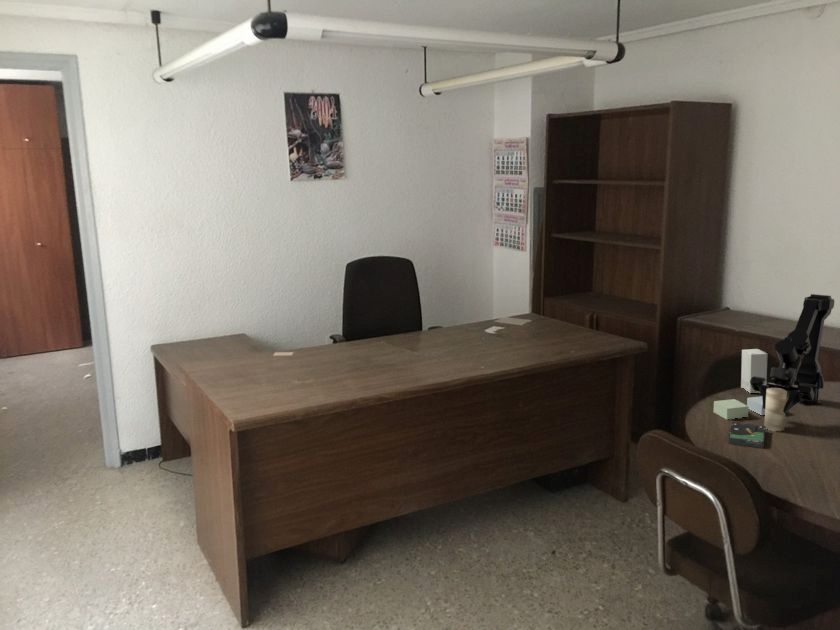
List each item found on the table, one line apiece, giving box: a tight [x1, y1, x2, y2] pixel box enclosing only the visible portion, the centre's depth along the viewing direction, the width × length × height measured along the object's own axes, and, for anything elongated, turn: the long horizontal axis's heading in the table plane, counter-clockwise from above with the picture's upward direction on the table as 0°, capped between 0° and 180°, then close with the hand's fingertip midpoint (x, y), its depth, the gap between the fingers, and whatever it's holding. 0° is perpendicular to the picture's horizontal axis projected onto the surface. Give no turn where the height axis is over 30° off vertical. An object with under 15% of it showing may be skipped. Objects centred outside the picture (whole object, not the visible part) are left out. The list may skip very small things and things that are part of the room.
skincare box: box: [740, 348, 768, 394], centre depth 269 cm, size 8×7×16 cm
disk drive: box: [727, 421, 767, 449], centre depth 226 cm, size 10×3×15 cm
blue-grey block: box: [746, 396, 765, 416], centre depth 249 cm, size 8×8×4 cm
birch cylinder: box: [763, 388, 788, 432], centre depth 232 cm, size 6×6×13 cm
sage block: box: [712, 398, 749, 420], centre depth 246 cm, size 8×8×4 cm
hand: (773, 410), depth 231 cm, fingers closed on birch cylinder, 6 cm apart
